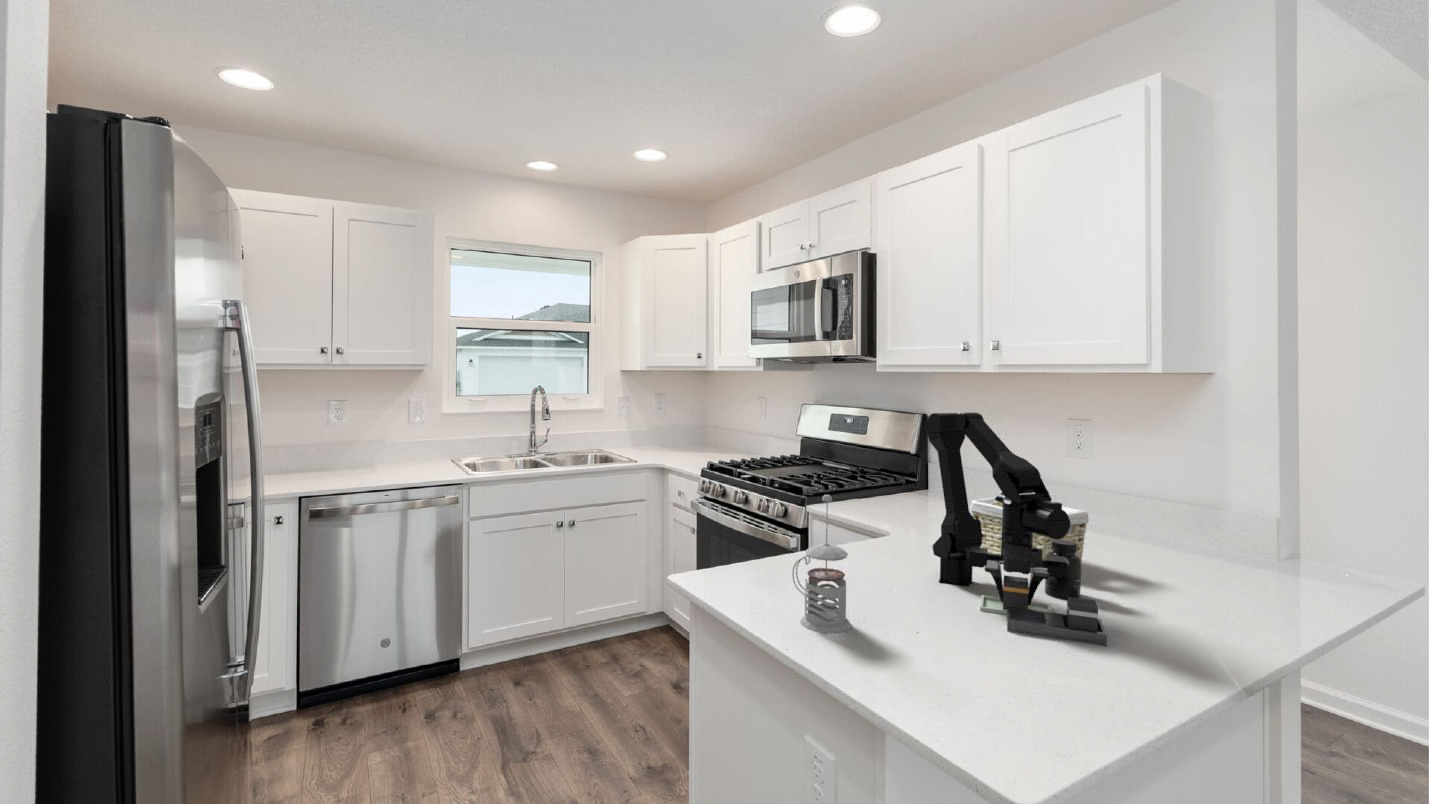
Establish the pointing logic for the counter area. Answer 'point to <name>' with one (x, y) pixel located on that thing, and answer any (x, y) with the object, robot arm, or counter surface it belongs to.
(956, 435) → the robot arm
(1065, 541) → the supplement bottle
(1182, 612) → the counter surface
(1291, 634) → the counter surface
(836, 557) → the french press
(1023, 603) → the dark grey striped block
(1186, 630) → the counter surface
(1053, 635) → the strip
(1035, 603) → the tray
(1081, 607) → the twin plug
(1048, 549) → the storage basket
